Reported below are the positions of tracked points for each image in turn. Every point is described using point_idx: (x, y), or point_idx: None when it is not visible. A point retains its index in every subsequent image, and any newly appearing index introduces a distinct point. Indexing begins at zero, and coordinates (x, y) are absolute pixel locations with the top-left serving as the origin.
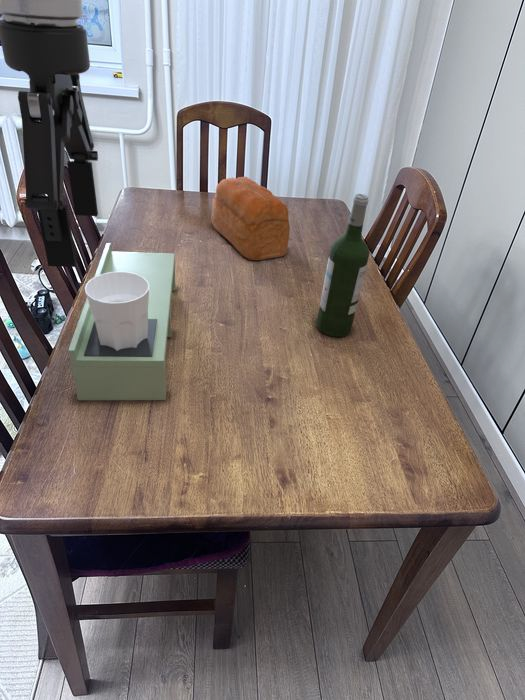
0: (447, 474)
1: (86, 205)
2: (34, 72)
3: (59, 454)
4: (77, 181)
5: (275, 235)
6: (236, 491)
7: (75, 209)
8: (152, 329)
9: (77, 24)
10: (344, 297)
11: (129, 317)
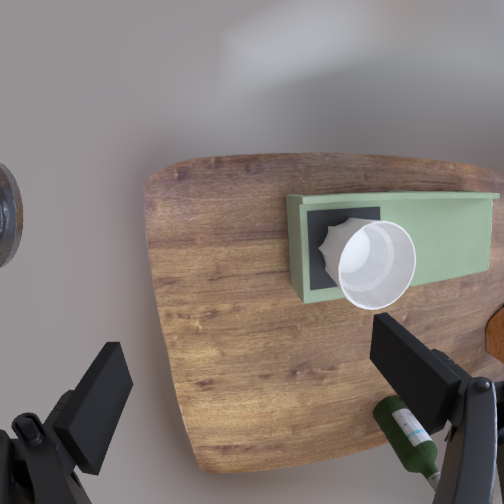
0: (223, 462)
1: (381, 353)
2: None
3: (210, 198)
4: (413, 374)
5: (500, 352)
6: (186, 353)
7: (379, 323)
8: None
9: None
10: (390, 438)
11: (335, 281)
